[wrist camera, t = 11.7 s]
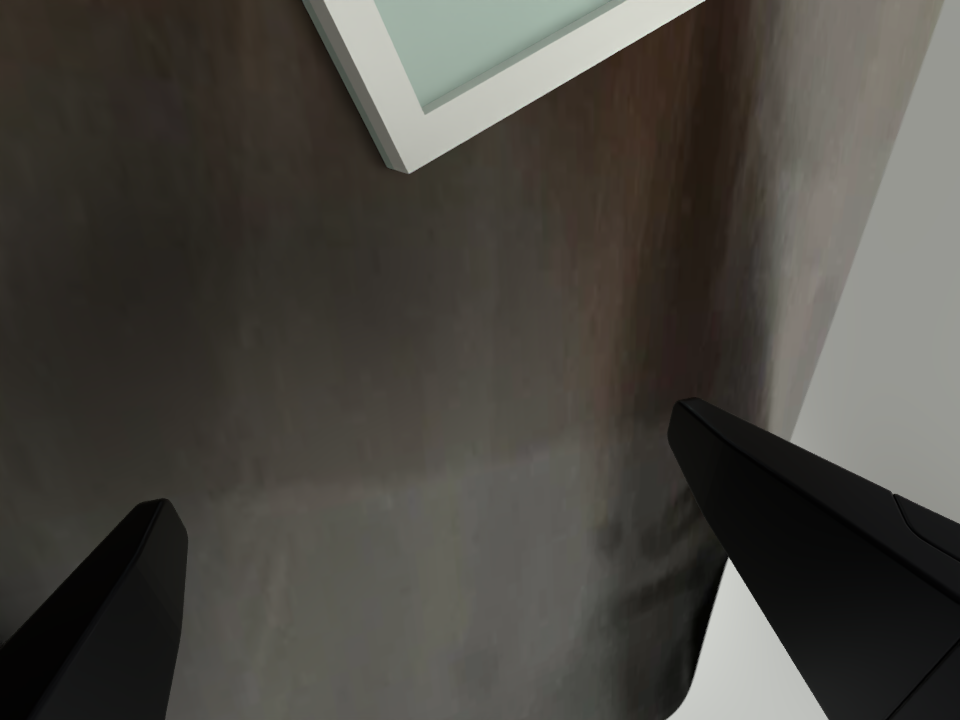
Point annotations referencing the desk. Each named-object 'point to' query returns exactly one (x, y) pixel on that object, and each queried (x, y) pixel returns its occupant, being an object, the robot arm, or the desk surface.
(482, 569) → the desk surface
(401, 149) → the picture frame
